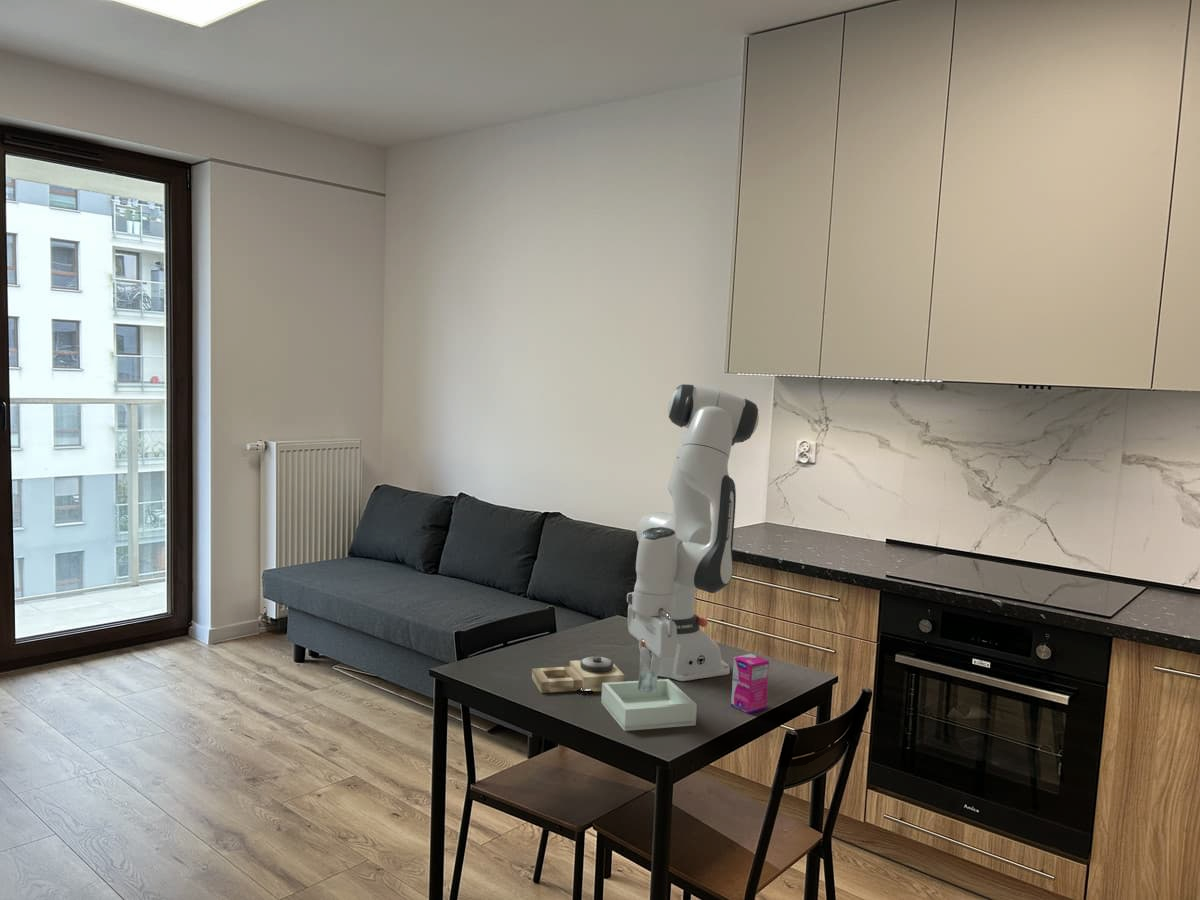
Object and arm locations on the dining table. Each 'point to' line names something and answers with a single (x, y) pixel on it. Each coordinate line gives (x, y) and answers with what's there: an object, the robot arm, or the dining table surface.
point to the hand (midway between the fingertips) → (649, 666)
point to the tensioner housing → (577, 675)
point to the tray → (648, 705)
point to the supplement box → (750, 683)
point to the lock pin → (646, 671)
